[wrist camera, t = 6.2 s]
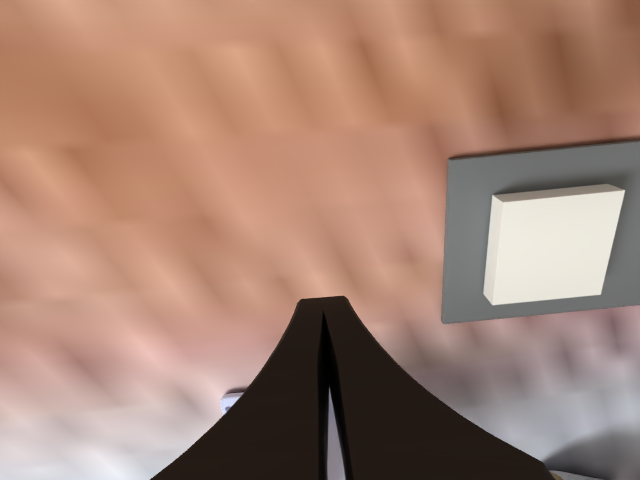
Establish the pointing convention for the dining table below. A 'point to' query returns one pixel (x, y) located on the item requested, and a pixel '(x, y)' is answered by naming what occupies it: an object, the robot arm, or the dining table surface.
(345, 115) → the dining table surface
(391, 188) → the dining table surface
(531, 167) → the mat
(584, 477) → the ceramic mug
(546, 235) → the tile
